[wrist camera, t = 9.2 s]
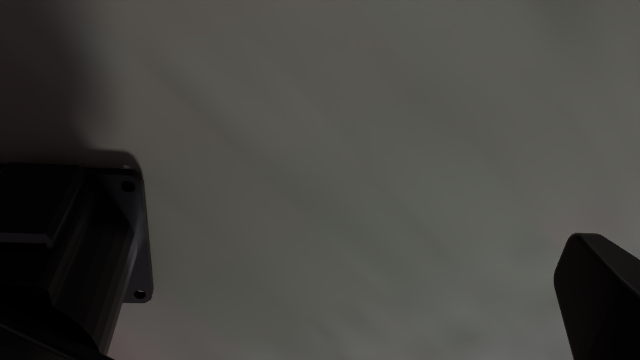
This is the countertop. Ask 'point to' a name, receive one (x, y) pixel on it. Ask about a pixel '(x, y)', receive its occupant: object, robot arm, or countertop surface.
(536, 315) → the countertop surface
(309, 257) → the countertop surface
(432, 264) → the countertop surface
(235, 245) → the countertop surface
